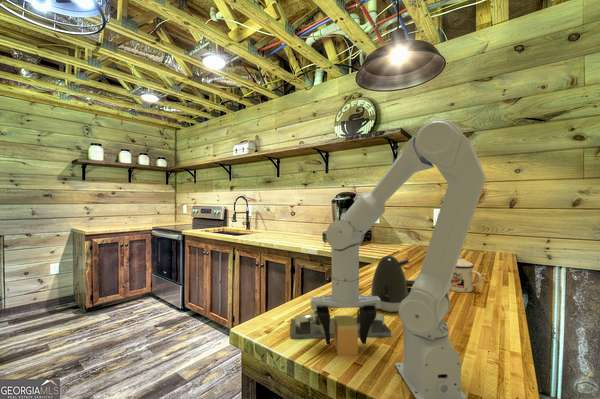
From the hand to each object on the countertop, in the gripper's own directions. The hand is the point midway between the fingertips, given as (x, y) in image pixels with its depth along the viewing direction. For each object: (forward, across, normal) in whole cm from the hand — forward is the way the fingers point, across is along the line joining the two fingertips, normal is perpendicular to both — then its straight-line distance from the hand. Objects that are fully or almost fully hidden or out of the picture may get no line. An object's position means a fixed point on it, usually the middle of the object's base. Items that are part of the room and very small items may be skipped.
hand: (345, 341), depth 59 cm
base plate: (+1, 0, -8) cm, 9 cm away
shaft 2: (0, -7, -7) cm, 10 cm away
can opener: (+2, -27, -32) cm, 41 cm away
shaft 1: (+1, +7, -6) cm, 10 cm away
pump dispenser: (+2, -17, -20) cm, 27 cm away
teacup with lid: (+2, -48, -36) cm, 60 cm away
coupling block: (+2, 0, 0) cm, 2 cm away
